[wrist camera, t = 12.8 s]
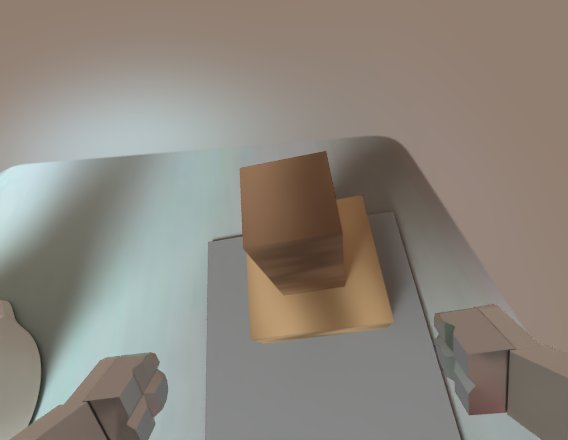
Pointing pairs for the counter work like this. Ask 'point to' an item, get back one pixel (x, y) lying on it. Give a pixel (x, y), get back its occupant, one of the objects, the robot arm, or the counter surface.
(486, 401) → the robot arm
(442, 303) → the counter surface
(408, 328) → the grey mat
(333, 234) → the walnut column
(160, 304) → the counter surface
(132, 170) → the counter surface
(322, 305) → the oak base block
